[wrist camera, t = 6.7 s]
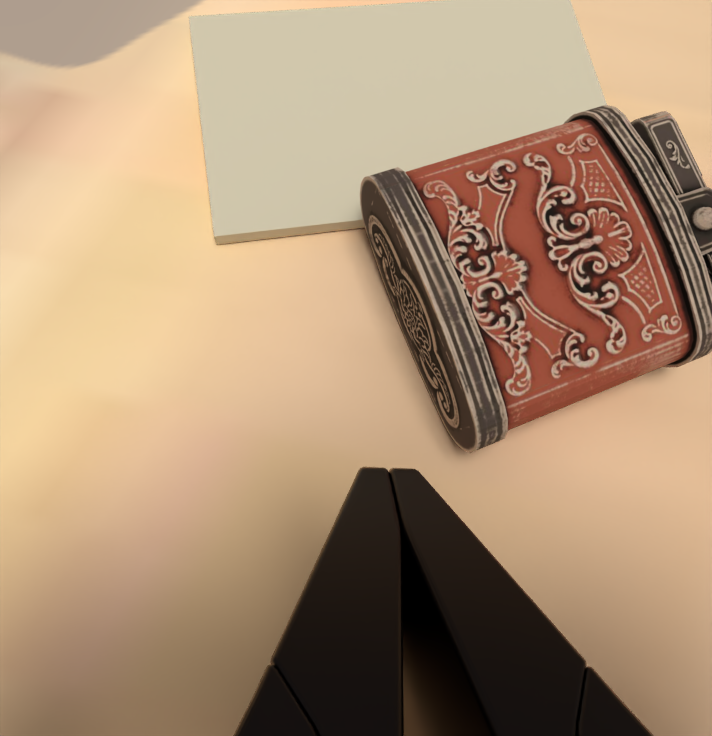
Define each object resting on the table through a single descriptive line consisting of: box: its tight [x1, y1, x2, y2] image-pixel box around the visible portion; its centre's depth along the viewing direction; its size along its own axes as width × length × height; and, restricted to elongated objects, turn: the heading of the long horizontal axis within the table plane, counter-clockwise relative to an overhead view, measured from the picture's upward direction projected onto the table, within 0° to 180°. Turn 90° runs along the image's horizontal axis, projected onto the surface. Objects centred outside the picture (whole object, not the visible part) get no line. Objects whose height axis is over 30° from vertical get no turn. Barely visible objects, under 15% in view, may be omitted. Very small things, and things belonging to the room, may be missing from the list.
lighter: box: [360, 105, 712, 453], centre depth 15 cm, size 8×3×10 cm
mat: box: [189, 0, 607, 245], centre depth 17 cm, size 14×8×1 cm, turn 100°
